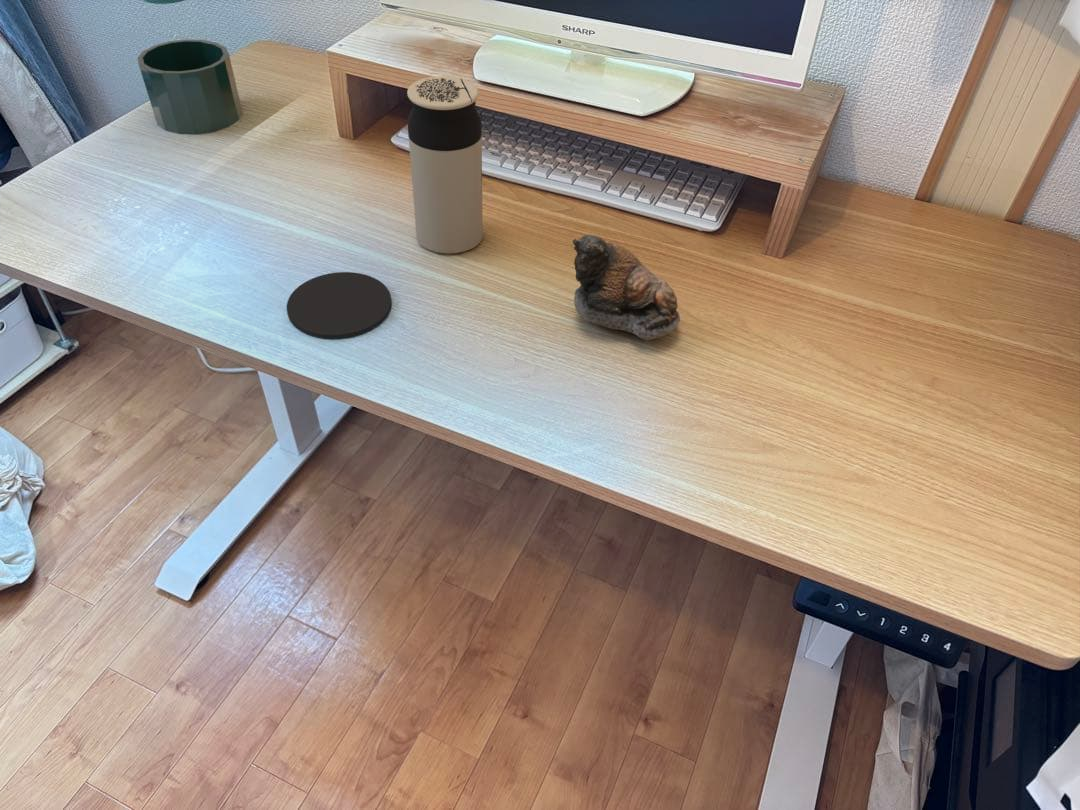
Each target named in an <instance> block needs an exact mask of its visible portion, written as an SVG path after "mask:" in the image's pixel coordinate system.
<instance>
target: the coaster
mask: <svg viewBox="0 0 1080 810" xmlns="http://www.w3.org/2000/svg"><path fill="white" fill-rule="evenodd" d="M392 302H393V301H392V295H391V292H390V290H389V289H388V287H387V286H386V285H385V284H384V283H383V282H382V281H380V280H378V279H377V278H375V277H373V276H371V275H367V274H364V273H361V272H360V273H359V272H353V271H339V272H337V271H336V272H331V273H325V274H321V275H318V276H314V277H313V278H310V279H308V280H306V281H304V282H303V283H302V284H300V285H299V286H298V287H297V288H295V289H294V290H293V292H291V294H290V296H289V297H288V299H287V303H286V314H287V317H288V319H289V322H290V324H292V326H293V327H294V328H295V329H297V330H298V331H300V332H301V333H303V334H304V335H307V336H310V337H314V338H317V339H324V340H342V339H349V338H355V337H358V336H360V335H361V336H362V335H364V334H367V333H368V332H370V331H372V330H374V329H376V328H378V327H379V326H380V325H381V324H383V323H384V321H385V320H386V319H387V318H388V316H389V314H390V313H391V309H392V304H393V303H392Z"/></svg>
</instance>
